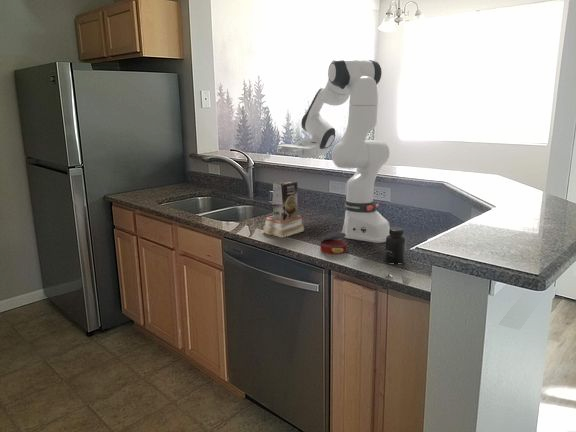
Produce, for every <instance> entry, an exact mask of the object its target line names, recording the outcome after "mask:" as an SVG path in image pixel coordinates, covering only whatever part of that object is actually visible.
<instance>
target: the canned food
mask: <svg viewBox="0 0 576 432" xmlns="http://www.w3.org/2000/svg"><path fill="white" fill-rule="evenodd" d="M344 236H346V234H344V233H342V231H333V232H329V233H328V234H326V235H324V236H323V237H322V238H320V240H319V241H320V252H321V253H323V252H324V254H327V253H328V254H327V255H342V254H345V253H346V252H347V251H348V250H347V248H348V243H347V241H345V240H342V239H341V238H345V237H344ZM341 253H342V254H341Z"/></svg>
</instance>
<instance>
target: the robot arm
mask: <svg viewBox="0 0 576 432" xmlns="http://www.w3.org/2000/svg"><path fill="white" fill-rule="evenodd" d="M327 72H328V73H327V75H328V77H327V78H328V79H327V82H326V85H325V86H322V87H320V88H319V89H318V90H317V92H316V94H315V95H314V97H313V99H312V101H311V103H310V104H309V107H308V109H307V111H306V113H305V114H304V115H303V117H302V118H301V123H300V124H301V128H302V129H303V130H304V131H305V132H307V133H308V134H309V135H310V136H311V138H306V139H299V140H298V141H297V142H296V144H292V143H291V144H290V143H289V144H288V143H286V144H284V143H283V144H278V145H277V148H276V152H277V153H280V154H287V155H295V156H296V155H297V156H298V157H299V158H301V159H309V158H319V157H320V156H323V155H325V154H327V153H328V152H329V151H330V149H331V146H332V144H333V143H334V141H335V138H336V129H335V128H334V127H333V126H332V125H331V124H330V123H329V122H328V121H326V120H325V119H324V118H323V117H322V116H321V114H320V111H321V109H322V108H323V106H324V104H326V105H330V106H334V107H335V106H336V107H337V106H341V105H343V104H345V103H346V102H347V101H348V99H349V101H348V102H349V103H348V104H349V107H348V119H347V120H348V121H347V126H346V129H345V132H344V134H343V136H342V137H341V138H340V140H339V141H338V142H337V143H336V144H335V145H334V146H333V148H332V151H331V160H332V162H333V164H334V165H335V166H336V167H337V168H341V169H348V170H350V169H356V170H355V173H354V174H353V175H352V176H351V177H350V178H349V179H348V180H347V182H346V187H345V188H346V191H345V192H346V193H345V194H346V195H345V196H346V197H345V198H346V199H345V200H344V211H345V214H344V221H343V226H342V229H341V233H344V234H346V236H344V237H343V238H345V239H351V240H357V241H365V242H370V243H376V244H380V243H386V237H387V236H388V235H390V234H389V229H390V228H391V227H390V223H389V220H387V219H386V218H385V217H384V216H383V215H382V214H381V213H380V212H379V211H378V210H377V208H378V206H379V203H375V201H374V188H375V182H376V179H377V176H378V173H379V172H380V169H382V168H383V165H385V164H386V163H387V161H388V160H389V158H390V149H389V146H388V144H387V143H386V142H384V141H381V140H377V139H367V140H366V138H367V135H369V133H370V131H372V130H373V129H375V128H376V125H377V121H378V119H377V117H378V99H379V98H378V95H379V94H378V87H377V85H378V84H379V83H380V81H381V78H382V68H381V65H380V63H379V62H378V61H376V60H372V59H367V60H366V59H359V58H344V59H343V58H338V59H333V60H332V61H331V62H330V64H329V66H328V71H327Z"/></svg>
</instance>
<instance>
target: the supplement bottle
mask: <svg viewBox="0 0 576 432" xmlns="http://www.w3.org/2000/svg"><path fill="white" fill-rule="evenodd" d="M404 231H405V230H404V228H403V227H398V226H391V227H390V229H389V234H390V235H388V236H387V237H386V242H385V245H384V247H385V250H384V262H385V263H387V262H388V263H387V264H389V263H394V264H398V263H403V262H404V263H405V261H406V260H405V258H406V246H407V238H406V237H405V236H404V234H405V232H404ZM404 263H403V264H404Z"/></svg>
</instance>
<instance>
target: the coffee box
mask: <svg viewBox="0 0 576 432" xmlns="http://www.w3.org/2000/svg"><path fill="white" fill-rule="evenodd" d="M297 215H298V182H297V181H291V180H283V181H279V182H273V183H272V216H273V219H275V220H280V221H283V220H287V219H290V218H294V217H297Z"/></svg>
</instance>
